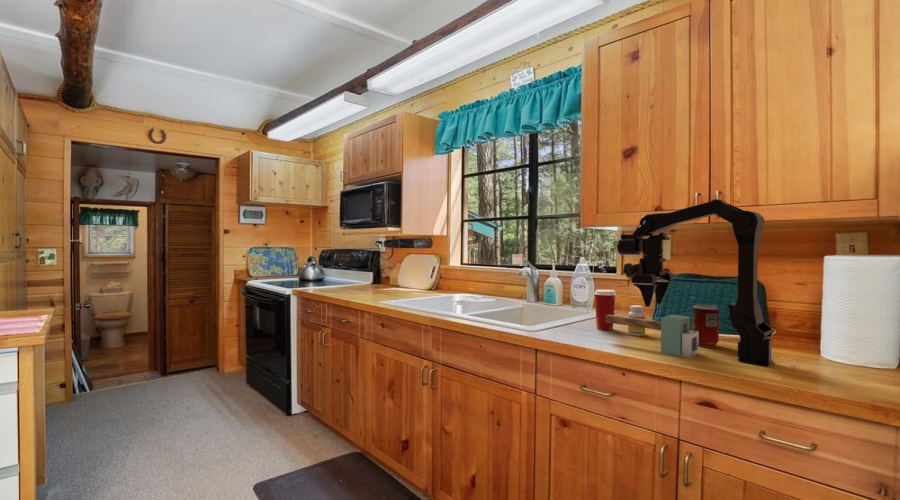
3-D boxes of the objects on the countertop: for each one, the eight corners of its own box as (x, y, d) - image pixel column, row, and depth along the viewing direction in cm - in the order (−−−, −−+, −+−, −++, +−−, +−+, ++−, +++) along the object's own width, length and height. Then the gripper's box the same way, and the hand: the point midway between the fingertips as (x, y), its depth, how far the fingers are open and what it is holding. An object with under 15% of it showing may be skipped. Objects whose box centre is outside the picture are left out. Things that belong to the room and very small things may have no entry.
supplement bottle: (646, 336, 142) (647, 307, 142) (629, 335, 143) (630, 306, 143) (642, 333, 148) (643, 305, 147) (626, 332, 149) (626, 304, 148)
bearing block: (689, 351, 122) (690, 316, 122) (679, 356, 117) (680, 320, 117) (671, 348, 126) (671, 314, 126) (660, 352, 120) (661, 317, 120)
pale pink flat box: (698, 353, 120) (698, 331, 120) (690, 357, 116) (690, 334, 116) (689, 352, 122) (690, 330, 122) (681, 356, 117) (681, 333, 117)
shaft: (670, 330, 123) (670, 322, 123) (667, 331, 122) (667, 323, 122) (609, 321, 137) (609, 314, 137) (605, 322, 136) (605, 315, 135)
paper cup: (620, 329, 153) (621, 291, 152) (603, 331, 150) (604, 292, 150) (605, 326, 160) (605, 289, 160) (589, 327, 157) (589, 289, 157)
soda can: (724, 347, 127) (724, 306, 127) (704, 348, 126) (704, 307, 126) (705, 342, 134) (706, 303, 134) (686, 343, 133) (686, 304, 133)
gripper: (638, 254, 144) (639, 300, 144) (614, 255, 131) (614, 305, 131) (674, 254, 136) (674, 303, 136) (651, 255, 123) (652, 309, 123)
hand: (653, 305), depth 132 cm, fingers open, 9 cm apart
